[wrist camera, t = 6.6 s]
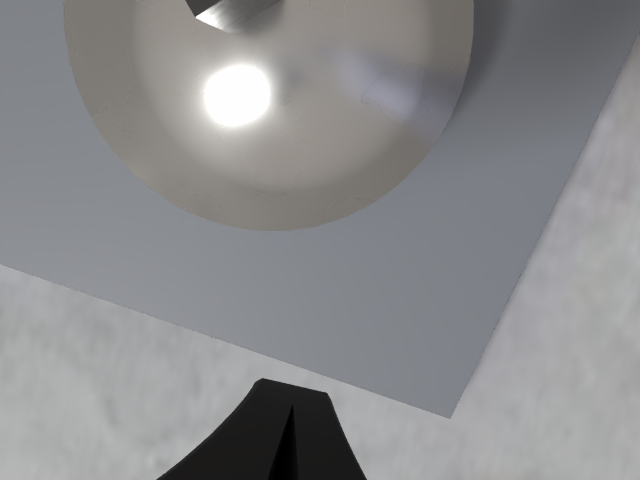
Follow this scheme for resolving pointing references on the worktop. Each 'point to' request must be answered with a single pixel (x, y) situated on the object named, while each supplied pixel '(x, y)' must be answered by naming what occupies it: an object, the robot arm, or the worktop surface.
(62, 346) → the worktop surface
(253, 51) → the dial
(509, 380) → the worktop surface
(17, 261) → the board
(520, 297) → the worktop surface
